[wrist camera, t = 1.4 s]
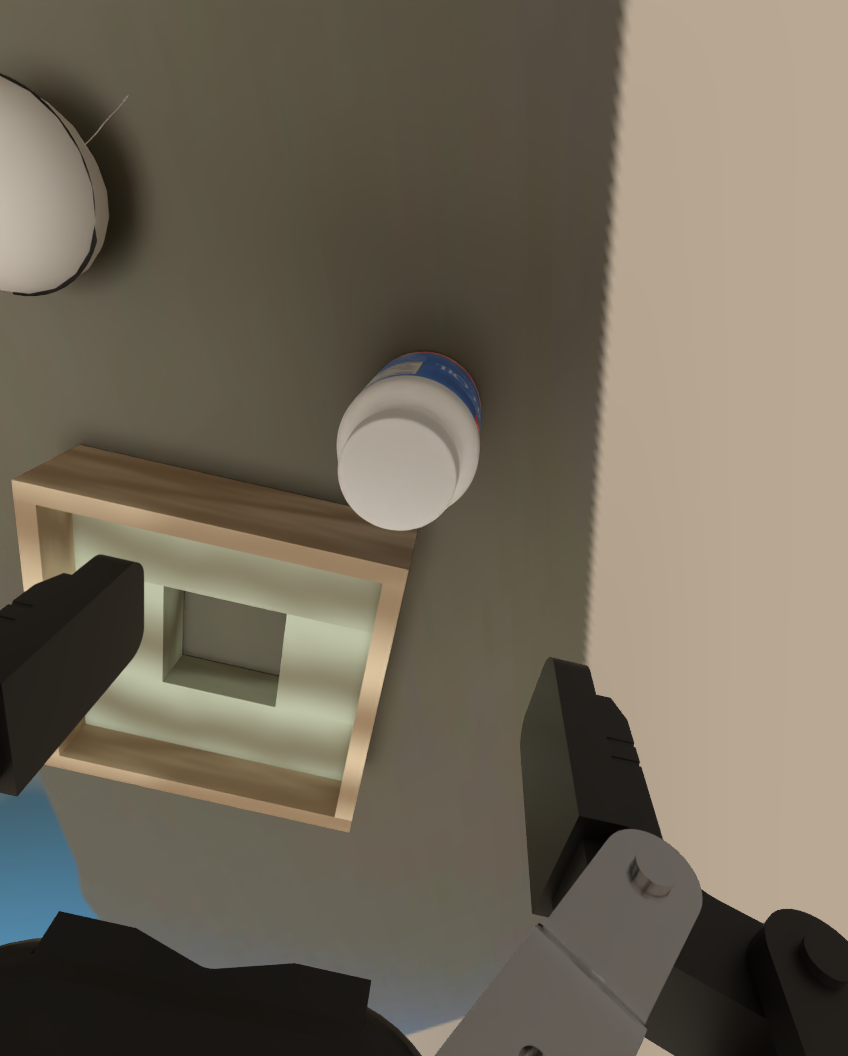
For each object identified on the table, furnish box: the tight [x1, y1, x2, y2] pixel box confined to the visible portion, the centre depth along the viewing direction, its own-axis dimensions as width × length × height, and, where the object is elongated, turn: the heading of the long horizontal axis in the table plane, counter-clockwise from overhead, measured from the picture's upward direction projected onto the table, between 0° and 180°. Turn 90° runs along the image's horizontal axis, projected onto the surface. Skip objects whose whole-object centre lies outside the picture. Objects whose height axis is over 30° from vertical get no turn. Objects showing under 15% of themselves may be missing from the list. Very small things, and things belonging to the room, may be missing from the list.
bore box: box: [12, 445, 418, 832], centre depth 33 cm, size 18×18×5 cm
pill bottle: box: [337, 352, 481, 531], centre depth 24 cm, size 6×5×10 cm
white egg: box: [0, 74, 129, 296], centre depth 22 cm, size 10×7×7 cm
